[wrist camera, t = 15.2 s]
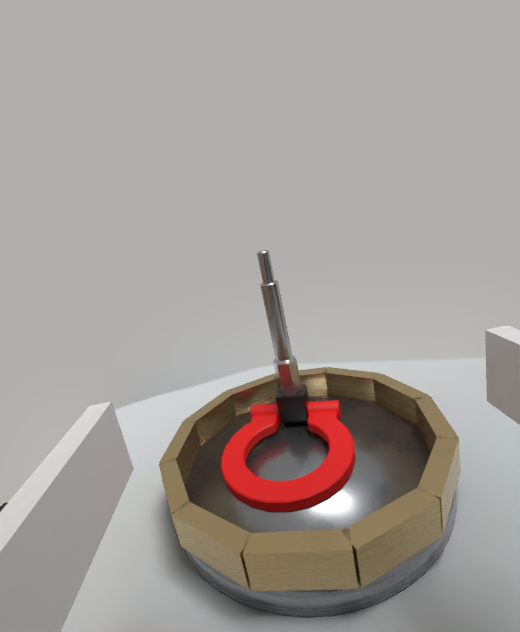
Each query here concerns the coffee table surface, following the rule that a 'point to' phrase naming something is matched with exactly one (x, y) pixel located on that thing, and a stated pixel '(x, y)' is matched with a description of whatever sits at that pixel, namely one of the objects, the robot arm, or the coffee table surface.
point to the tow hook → (287, 411)
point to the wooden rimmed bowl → (328, 515)
